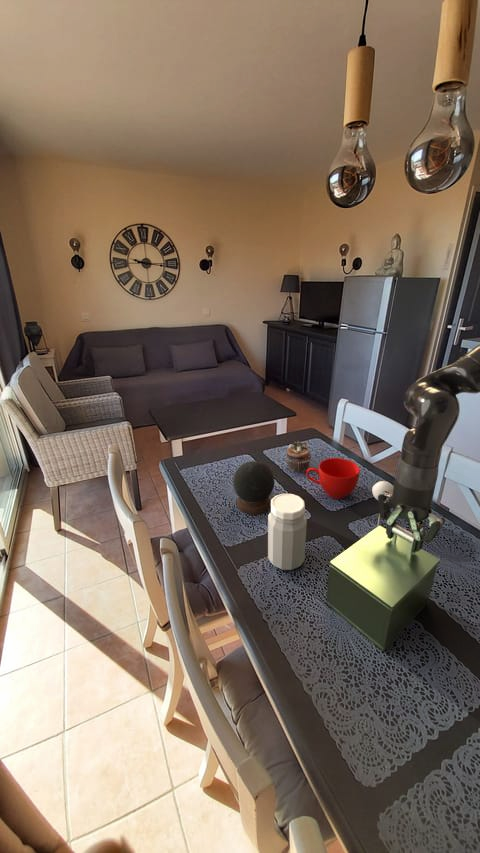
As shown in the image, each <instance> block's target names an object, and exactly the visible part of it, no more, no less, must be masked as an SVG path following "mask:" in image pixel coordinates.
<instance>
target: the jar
mask: <svg viewBox="0 0 480 853" xmlns="http://www.w3.org/2000/svg"><path fill="white" fill-rule="evenodd" d="M270 500H271V507H270V512H269V514H268V516H267V517H268V518H267V559H268V561H270V563H271V564H272V565H273V566H274V567H275V568H278V569H280V570H281V571H292V570H295V569H298V568H300V567H301V566H302V564H303V563H304V561H305V559H306V542H307V524H308V522H307V521H308V520H307V515H306V513H305V512H306V511H305V508H306V506H305V505H306V504H305V500H304V499H303V498H301V496H300V495H296V494H293V493H280V494H277V495H275V496H274V497H273V498H272V499H270Z"/></svg>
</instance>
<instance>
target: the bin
mask: <svg viewBox="0 0 480 853" xmlns="http://www.w3.org/2000/svg"><path fill="white" fill-rule="evenodd" d="M437 568H438V565H437V566H436V567H435V568H434V569H433V570H432V571H431V572H430V573H429V574H428V575H427V576H426V577H425V578H424V579H423V580H422V581H421V582H420V583H419V584H418V585H417V586H416V587H415V588H414V589H413V590H412V591H411V592H410V593H409V594H408V595H407V596H406V597H405V598H404V599H403V600H402V601H401V602H400V603H399V604H398V605H397V606H396V607H395V608H394V609H393V610H391V609H389V608H388V607H387V606H385V605H384V604H383V603H381V602H380V601H378V600H377V599H376V598H374V597H373V596H372V595H370V594H369V593H368V592H366V591H365V590H363V589H362V588H361V587H359V586H358V585H357V584H355V583H354V582H353V581H351V580H350V579H349V578H347V577H346V576H344V575H343V574H342V573H340V572H339V571H338V570H336V569H335V568H334V567H332V566H331V565H330V564H329V566H328V577H327V587H326V598H325V605H327V606H328V607H329V608H330V609H331V610H333V611H334V612H335V613H336V614H338V615H339V616H340V617H341V618H342V619H343V620H344V621H346V622H347V623H348V624H349V625H351V627H353V628H354V629H355V630H357V632H359V633H360V634H361V635H362V636H364V638H366V639H367V640H368V641H370V642H371V643H372V644H373V646H374V645H375V646H376V647H377V648H378V649H379V650H380V651H381V652H382V653H383V652H385V651H386V650H387V649H388V647H390V646H391V644H392V643H393V642H394V641H395V640H396V639H397V638H398V637H399V636H400V634H402V633H403V631H404V630H405V629H406V628H407V627H408V626H409V625H410V624H411V622H412V621H414V620H415V619H416V618H417V617H418V615H419V614H421V612H422V611H423V610H424V609H425V607H427V606H428V603H429V599H430V595H431V593H432V588H433V584H434V580H435V576H436V573H437Z"/></svg>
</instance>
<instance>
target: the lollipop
mask: <svg viewBox="0 0 480 853" xmlns="http://www.w3.org/2000/svg"><path fill="white" fill-rule="evenodd" d="M393 488H394V485H392V484H391V483H390V482H389V481H386V480H381V481H377V482H376V483H375V484H374V485H373V486H372V489H371V491H372V495H373V497H374V498H375V500H377V501H378V495H380V494H381V493H382V492H384V491H387V492H388V493H389V494H392V495H393ZM380 522H381V518H380V514H379V513H378V519H377V527H378V526H379V525H380Z"/></svg>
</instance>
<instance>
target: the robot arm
mask: <svg viewBox="0 0 480 853" xmlns="http://www.w3.org/2000/svg"><path fill="white" fill-rule="evenodd" d="M479 393H480V343H479V344H477V345H476V346H474V348H472V349H471V350H469V351H468V352H466V353H465V354H464V355H462V356H461V357H460V358H458V360H456V361H455V362H453V363H451V364H448V365H445V366H442V367H441V368H439V369H436V370H435V371H432V372H431V373H430V372H429V373H428V374H426V375H424V376H423V377H421V378H419V379H417V380H416V381H414V382H413V383H412V384H411V385H410V387H408V389H407V390H406V392H405V393H404V397H403V404H404V405H403V406H404V408H405V409H406V410H407V411H408V412H409V413H410V414H411V415H413V417H415V418H416V419H417V425H416V428H415V427H414V428H411V429H409V430H408V431H406V432H405V434H404V436H403V440H402V444H401V450H400V457H399V459H398V462H397V466H396V470H395V478H394V484H393V487H394V488H393V495H392V494H389V493H388V492H387V491H384V492H382V493H381V494H380V495H378V500H377V502H378V515H379V514H380V519H382V520H385V521H386V528H385V529H386V534H387V538H389V539H391V538H393V532H392V528H393V526H394V525H395V524H396V525H398V522H397V521H398V519H401V520H405V521H406V522H407V523H408V524H409V525H410V528H411V530H412V532H413V534H414V536H415V538H414V539H413V544H412V549H411V551H412V552H413V553H415V552H418V551H419V550H420V549H423V546H424V543H425V544H430V543H431V542H432V541H433V540H434V539H435V538H436V537H437V535H438V534H439V532H440V530H441V529H442V528H443V525H444V524H445V523H446V520H445V518H444V517H442V516H440V517H438V516H436V515H435V514H433V512H432V508H431V506H432V502H433V498H434V494H435V490H436V486H437V482H438V477H439V466H440V462H441V456H442V452H443V447H444V444H445V443H446V441H447V440H448V438H449V437H450V435H451V433H452V432H453V430H454V428H455V426H456V424H457V422H458V420H459V418H460V412H461V406H460V400H459V398H458V396H457V395H459V394H473V395H475V394H479ZM391 505H392V508H393V511H392V512H391ZM427 519H428V521H429V522H428V525H429V526H428V527H429V529H428V531H426V520H427Z"/></svg>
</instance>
